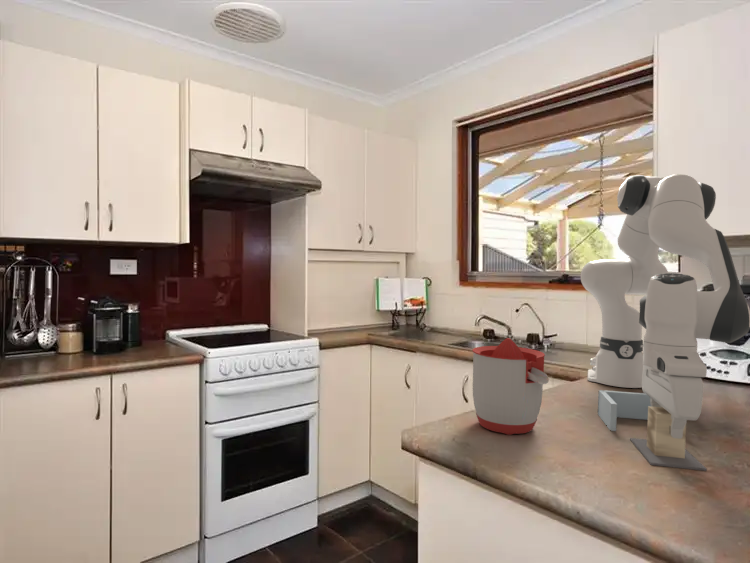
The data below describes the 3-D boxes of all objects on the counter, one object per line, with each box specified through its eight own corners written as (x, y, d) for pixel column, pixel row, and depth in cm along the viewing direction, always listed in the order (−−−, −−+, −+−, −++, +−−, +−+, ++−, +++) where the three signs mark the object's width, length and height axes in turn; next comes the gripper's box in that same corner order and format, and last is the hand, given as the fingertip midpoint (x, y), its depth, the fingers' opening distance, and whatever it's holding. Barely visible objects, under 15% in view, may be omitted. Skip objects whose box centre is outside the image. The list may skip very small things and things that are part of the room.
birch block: (646, 445, 95) (648, 406, 95) (674, 448, 94) (676, 408, 93) (655, 455, 90) (656, 413, 90) (684, 458, 89) (686, 416, 89)
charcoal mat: (630, 439, 99) (630, 437, 99) (678, 444, 97) (678, 442, 97) (650, 464, 86) (650, 462, 86) (706, 470, 84) (706, 468, 84)
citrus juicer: (519, 447, 94) (522, 347, 93) (455, 423, 108) (458, 335, 107) (564, 432, 103) (567, 341, 102) (500, 411, 117) (502, 331, 116)
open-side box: (597, 414, 116) (598, 389, 116) (662, 419, 113) (663, 394, 113) (610, 430, 105) (611, 403, 104) (683, 437, 101) (684, 409, 101)
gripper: (635, 347, 102) (632, 411, 102) (670, 367, 82) (667, 445, 83) (667, 349, 100) (664, 414, 101) (711, 369, 81) (708, 449, 81)
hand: (666, 428), depth 92 cm, fingers open, 8 cm apart
